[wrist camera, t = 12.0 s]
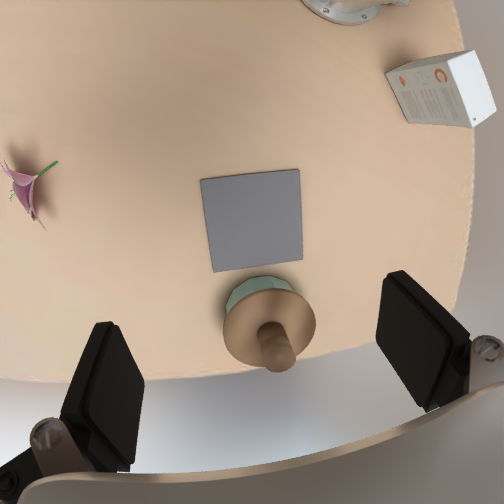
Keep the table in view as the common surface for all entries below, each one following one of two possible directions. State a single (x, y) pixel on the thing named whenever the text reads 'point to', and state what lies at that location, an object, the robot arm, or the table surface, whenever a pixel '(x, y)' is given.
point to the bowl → (255, 288)
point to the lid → (269, 328)
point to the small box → (443, 90)
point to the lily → (24, 187)
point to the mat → (253, 219)
